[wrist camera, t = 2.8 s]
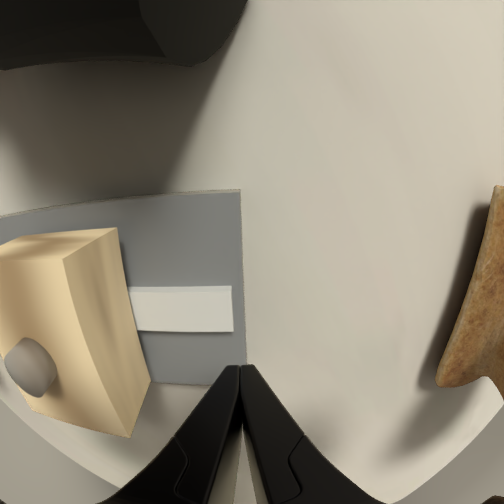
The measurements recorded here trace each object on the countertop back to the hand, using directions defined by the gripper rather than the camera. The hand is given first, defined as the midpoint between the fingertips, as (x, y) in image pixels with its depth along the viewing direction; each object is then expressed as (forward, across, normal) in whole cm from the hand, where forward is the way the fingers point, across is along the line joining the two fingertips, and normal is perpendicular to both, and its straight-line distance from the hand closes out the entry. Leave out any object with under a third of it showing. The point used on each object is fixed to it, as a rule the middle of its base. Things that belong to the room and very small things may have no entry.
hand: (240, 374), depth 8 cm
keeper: (+4, +8, 0) cm, 9 cm away
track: (+6, +13, 0) cm, 14 cm away
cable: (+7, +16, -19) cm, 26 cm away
